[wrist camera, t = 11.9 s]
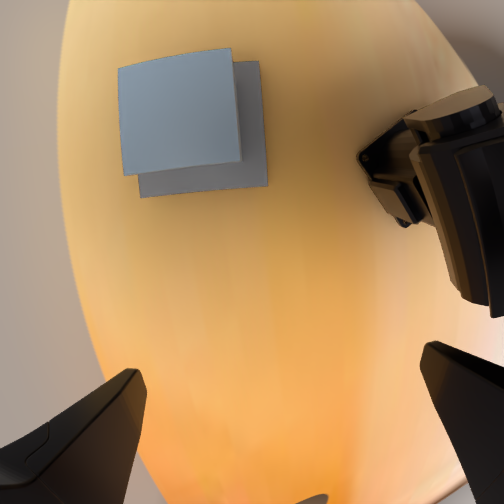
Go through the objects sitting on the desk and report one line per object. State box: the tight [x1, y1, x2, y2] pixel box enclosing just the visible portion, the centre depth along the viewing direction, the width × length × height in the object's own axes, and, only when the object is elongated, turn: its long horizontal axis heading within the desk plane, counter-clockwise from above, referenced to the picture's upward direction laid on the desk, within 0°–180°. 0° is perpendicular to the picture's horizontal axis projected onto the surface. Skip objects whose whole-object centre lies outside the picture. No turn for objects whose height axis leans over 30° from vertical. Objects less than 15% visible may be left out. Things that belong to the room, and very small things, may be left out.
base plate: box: [138, 61, 268, 198], centre depth 16 cm, size 8×8×4 cm
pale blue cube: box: [118, 48, 243, 176], centre depth 14 cm, size 5×5×6 cm
